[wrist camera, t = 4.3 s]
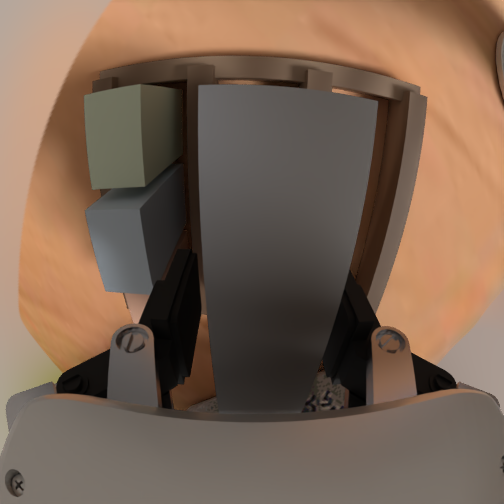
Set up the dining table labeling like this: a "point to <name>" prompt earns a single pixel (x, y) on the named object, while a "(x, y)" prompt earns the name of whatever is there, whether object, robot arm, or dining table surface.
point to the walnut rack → (316, 78)
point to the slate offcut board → (138, 231)
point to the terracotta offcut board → (139, 300)
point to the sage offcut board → (132, 134)
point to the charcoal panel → (277, 232)
